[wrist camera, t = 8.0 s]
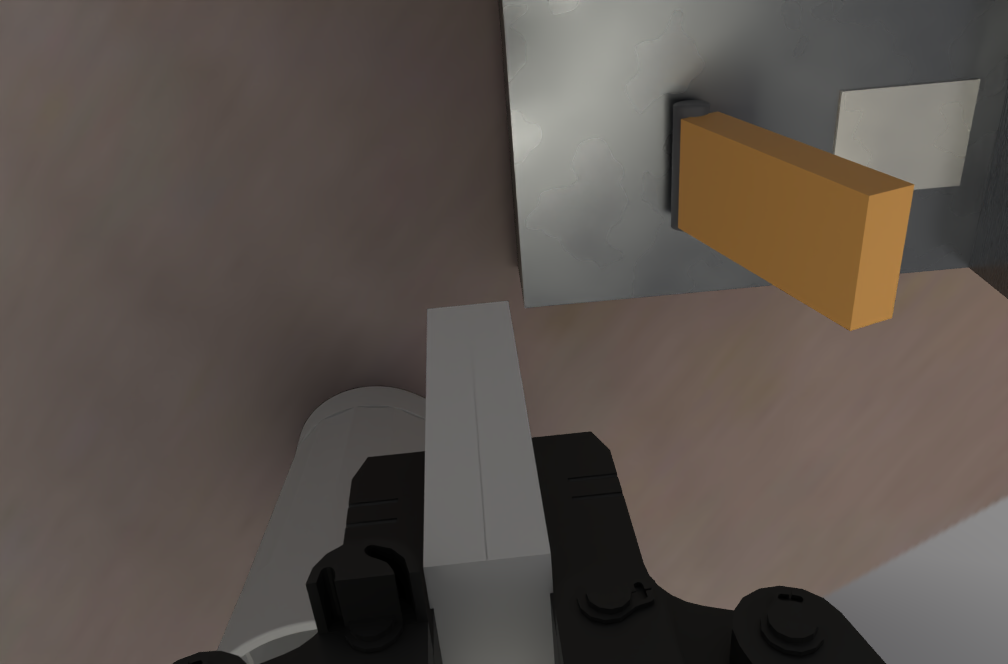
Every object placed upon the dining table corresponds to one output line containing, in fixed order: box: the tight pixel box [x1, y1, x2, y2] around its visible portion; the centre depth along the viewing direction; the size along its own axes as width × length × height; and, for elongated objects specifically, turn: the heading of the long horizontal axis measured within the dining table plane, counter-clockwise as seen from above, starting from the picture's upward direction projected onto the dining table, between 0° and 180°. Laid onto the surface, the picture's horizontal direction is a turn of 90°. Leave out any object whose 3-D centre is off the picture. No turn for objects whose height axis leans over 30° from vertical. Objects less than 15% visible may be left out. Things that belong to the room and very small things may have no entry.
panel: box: [498, 0, 1008, 308], centre depth 24 cm, size 16×15×5 cm
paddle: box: [671, 100, 914, 331], centre depth 22 cm, size 1×4×8 cm, turn 4°
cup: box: [217, 386, 426, 664], centre depth 28 cm, size 8×8×12 cm
